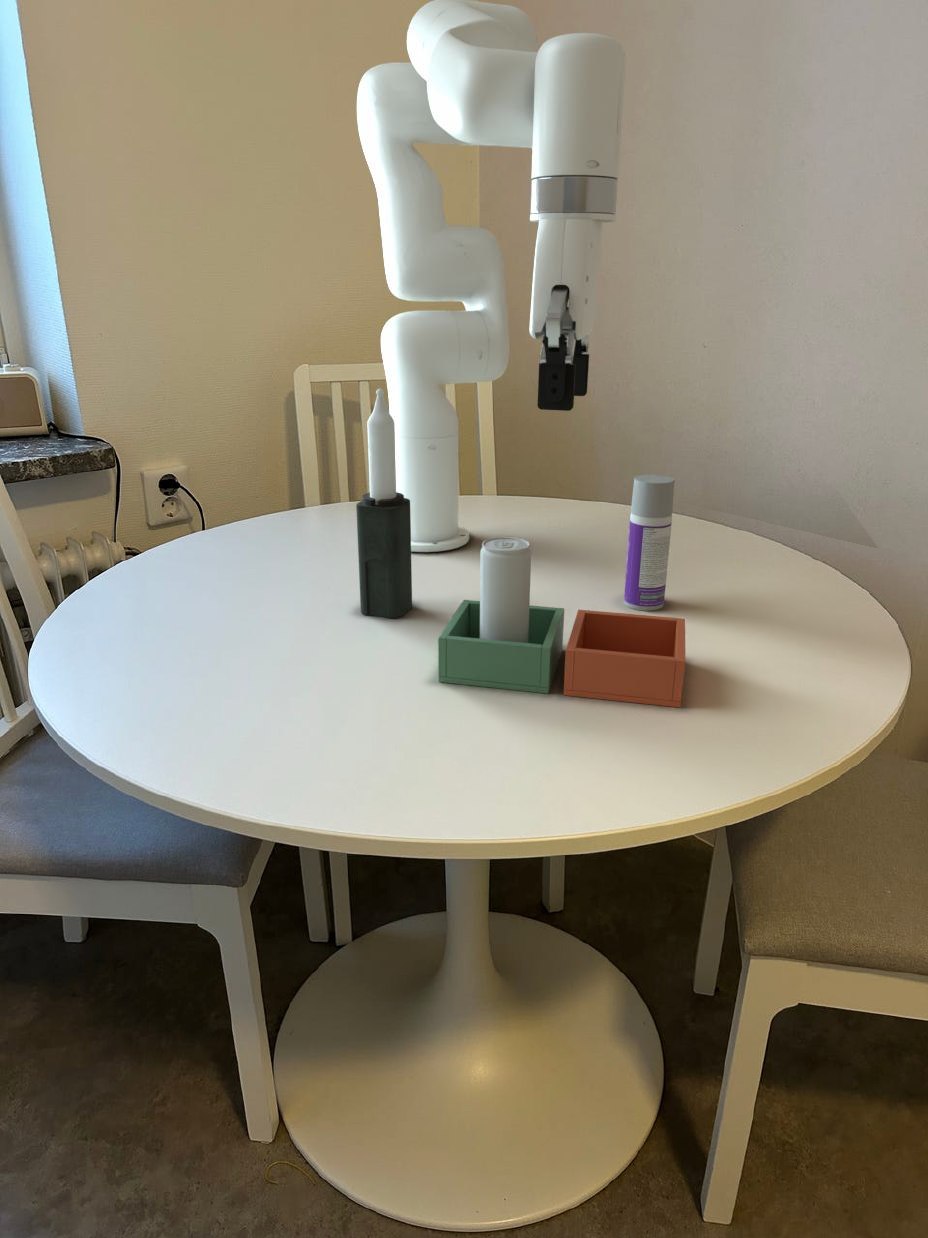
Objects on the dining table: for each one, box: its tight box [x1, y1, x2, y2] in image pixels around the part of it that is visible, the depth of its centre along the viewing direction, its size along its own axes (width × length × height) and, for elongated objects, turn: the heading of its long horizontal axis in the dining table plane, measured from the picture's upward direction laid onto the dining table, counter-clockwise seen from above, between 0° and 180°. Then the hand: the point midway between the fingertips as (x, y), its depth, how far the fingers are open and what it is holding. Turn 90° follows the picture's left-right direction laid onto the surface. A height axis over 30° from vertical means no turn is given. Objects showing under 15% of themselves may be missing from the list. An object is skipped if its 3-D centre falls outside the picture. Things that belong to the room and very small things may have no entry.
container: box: [623, 474, 675, 612], centre depth 101 cm, size 5×5×15 cm
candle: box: [355, 387, 413, 619], centre depth 97 cm, size 5×5×25 cm
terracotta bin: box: [563, 609, 686, 708], centre depth 84 cm, size 11×11×5 cm
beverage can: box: [479, 536, 532, 643], centre depth 85 cm, size 5×5×12 cm
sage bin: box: [437, 599, 565, 694], centre depth 86 cm, size 11×11×5 cm
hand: (563, 401), depth 83 cm, fingers open, 9 cm apart
